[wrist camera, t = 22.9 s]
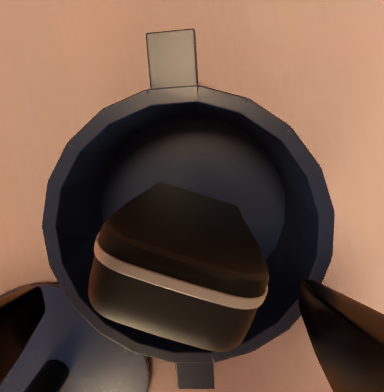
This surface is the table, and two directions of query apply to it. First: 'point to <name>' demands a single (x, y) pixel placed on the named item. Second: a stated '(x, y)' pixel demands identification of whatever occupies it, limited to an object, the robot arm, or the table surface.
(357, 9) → the table surface
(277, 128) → the pan
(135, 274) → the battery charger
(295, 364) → the table surface
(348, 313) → the robot arm
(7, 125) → the table surface
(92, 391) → the lid
